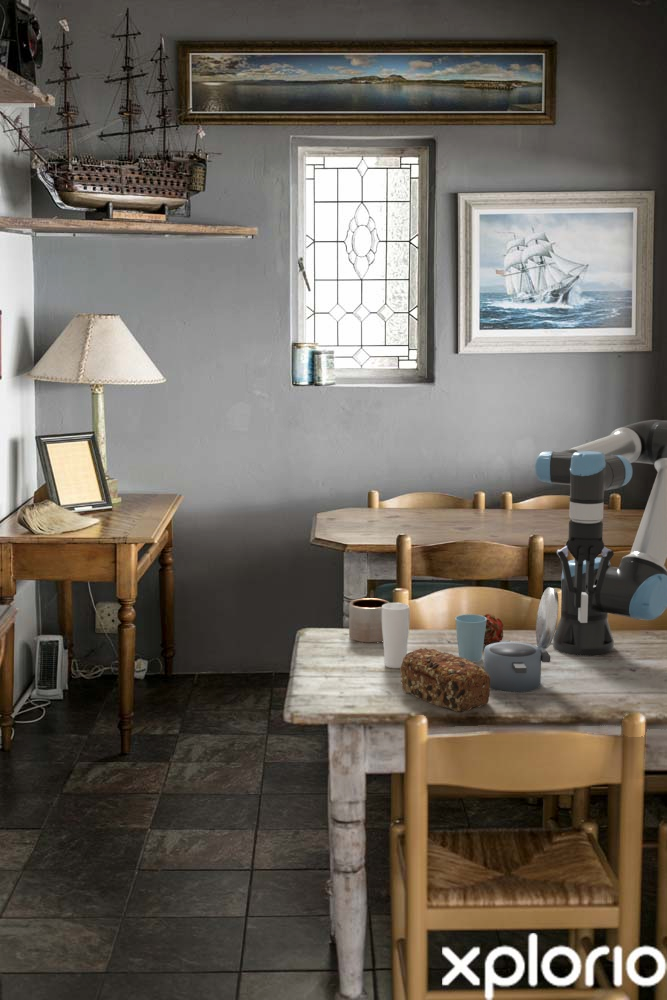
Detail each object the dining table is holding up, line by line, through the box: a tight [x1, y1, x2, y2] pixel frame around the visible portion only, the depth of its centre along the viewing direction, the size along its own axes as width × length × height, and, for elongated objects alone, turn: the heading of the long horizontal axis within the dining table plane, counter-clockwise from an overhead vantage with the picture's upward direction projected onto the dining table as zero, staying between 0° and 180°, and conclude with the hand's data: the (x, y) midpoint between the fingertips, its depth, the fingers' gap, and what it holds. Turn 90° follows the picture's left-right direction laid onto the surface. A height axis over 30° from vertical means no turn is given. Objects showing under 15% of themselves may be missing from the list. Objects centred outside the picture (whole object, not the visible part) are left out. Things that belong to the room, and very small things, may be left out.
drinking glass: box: [382, 602, 411, 669], centre depth 271 cm, size 7×7×15 cm
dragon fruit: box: [483, 613, 504, 647], centre depth 290 cm, size 8×8×12 cm
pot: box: [483, 640, 551, 694], centre depth 259 cm, size 15×21×8 cm
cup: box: [454, 613, 487, 663], centre depth 277 cm, size 8×8×10 cm
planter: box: [348, 597, 391, 644], centre depth 295 cm, size 11×11×10 cm
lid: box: [535, 586, 560, 653], centre depth 257 cm, size 14×14×2 cm
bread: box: [399, 647, 491, 713], centre depth 249 cm, size 19×11×10 cm, turn 39°
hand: (582, 621), depth 257 cm, fingers closed
